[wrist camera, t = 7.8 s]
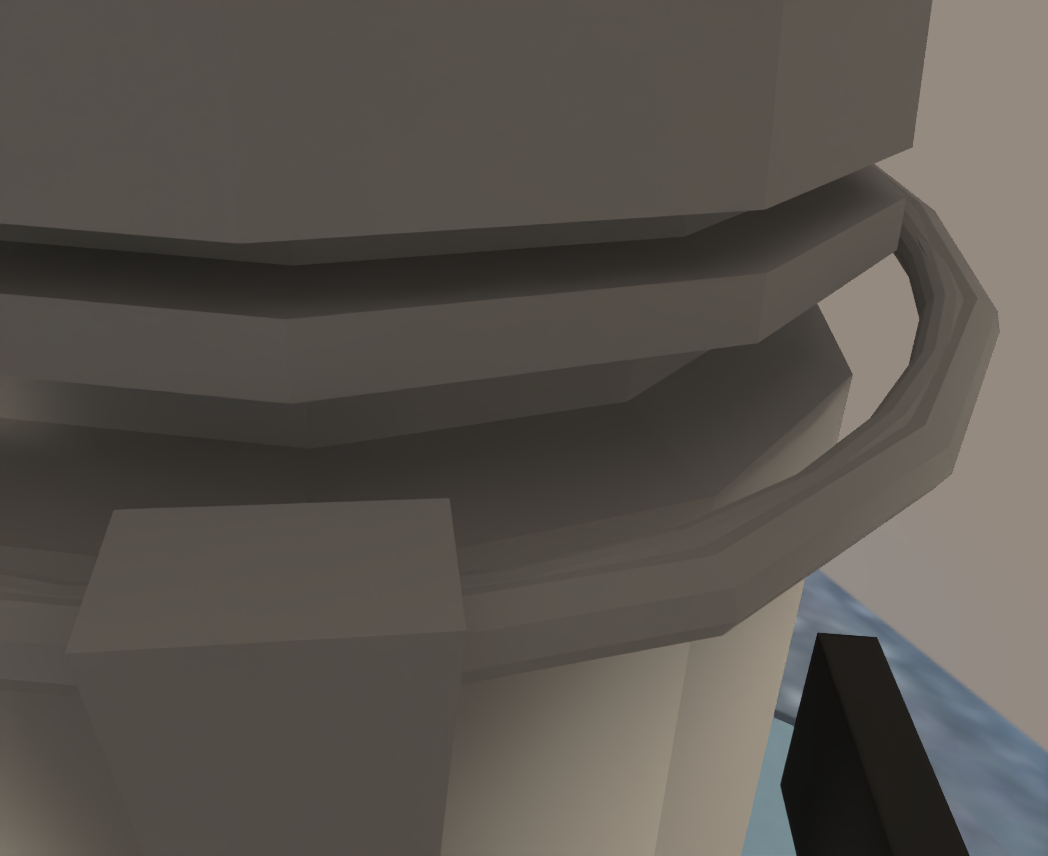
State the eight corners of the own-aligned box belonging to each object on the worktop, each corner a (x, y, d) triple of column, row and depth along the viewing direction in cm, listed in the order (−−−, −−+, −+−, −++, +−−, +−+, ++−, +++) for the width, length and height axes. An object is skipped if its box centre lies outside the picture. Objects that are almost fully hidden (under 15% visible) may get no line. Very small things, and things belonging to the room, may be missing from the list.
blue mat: (915, 787, 28) (917, 780, 28) (754, 1274, 18) (756, 1266, 17) (437, 575, 37) (437, 568, 36) (128, 819, 26) (127, 811, 26)
